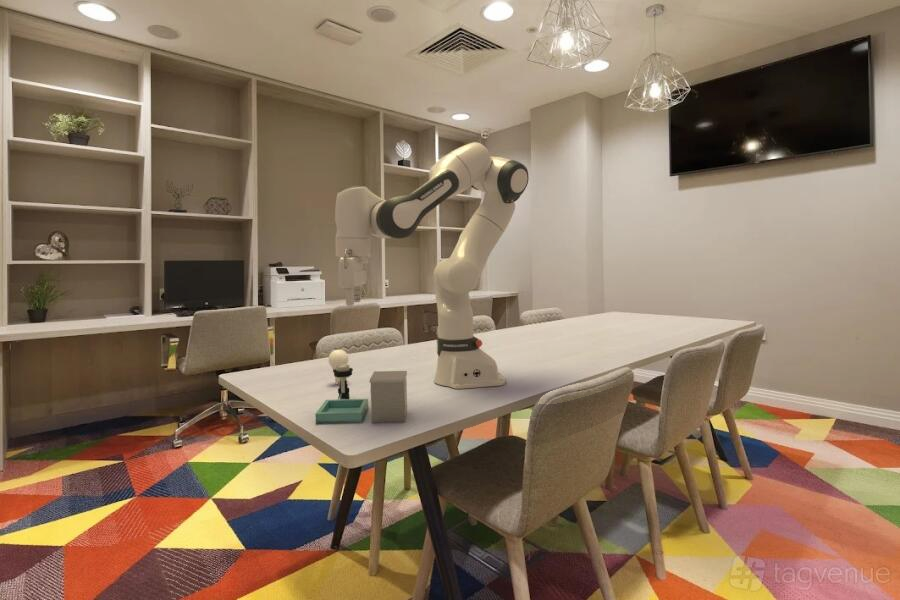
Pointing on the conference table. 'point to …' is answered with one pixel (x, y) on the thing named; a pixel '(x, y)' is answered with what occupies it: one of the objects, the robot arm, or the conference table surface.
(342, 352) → the lightbulb
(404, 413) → the box
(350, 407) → the parts tray
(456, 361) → the robot arm
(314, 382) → the conference table surface
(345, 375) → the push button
